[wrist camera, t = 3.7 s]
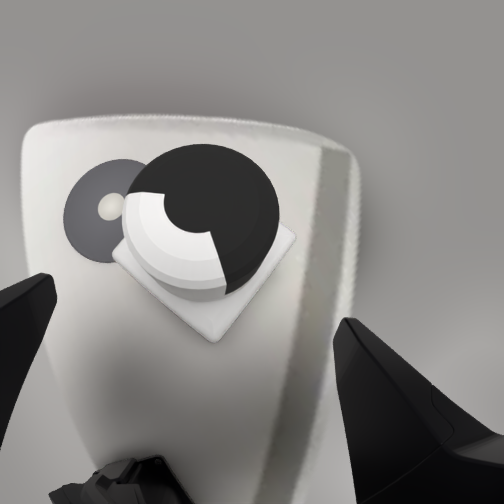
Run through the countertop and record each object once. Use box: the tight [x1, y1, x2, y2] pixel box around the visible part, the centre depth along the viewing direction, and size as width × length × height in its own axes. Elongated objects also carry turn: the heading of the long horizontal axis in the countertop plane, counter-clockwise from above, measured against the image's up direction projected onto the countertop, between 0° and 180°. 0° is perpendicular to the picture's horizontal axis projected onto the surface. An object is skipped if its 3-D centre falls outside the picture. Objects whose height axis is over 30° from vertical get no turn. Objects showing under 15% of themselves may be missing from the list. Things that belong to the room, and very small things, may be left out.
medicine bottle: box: [112, 144, 296, 343], centre depth 16 cm, size 7×7×12 cm
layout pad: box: [63, 159, 146, 263], centre depth 22 cm, size 9×9×1 cm
